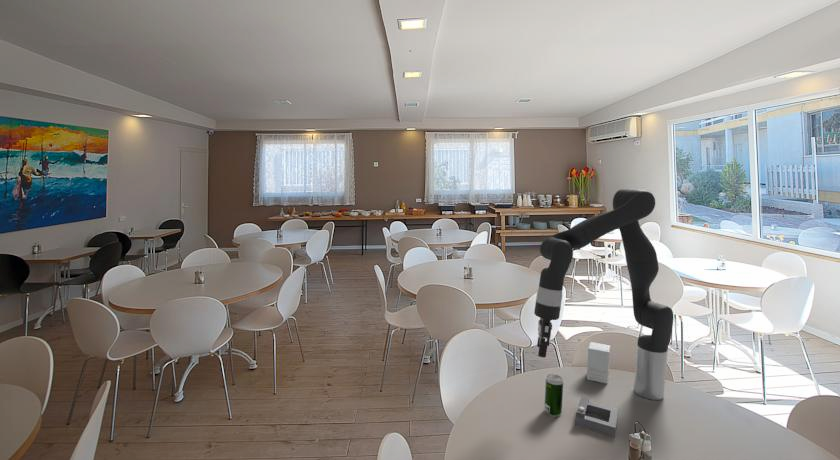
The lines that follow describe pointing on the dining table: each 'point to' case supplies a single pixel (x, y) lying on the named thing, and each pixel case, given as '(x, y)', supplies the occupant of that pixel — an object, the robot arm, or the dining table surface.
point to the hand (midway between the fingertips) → (541, 351)
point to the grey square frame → (594, 423)
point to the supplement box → (598, 362)
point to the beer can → (553, 395)
